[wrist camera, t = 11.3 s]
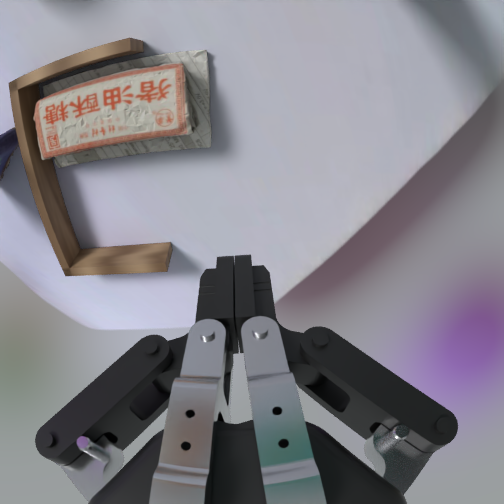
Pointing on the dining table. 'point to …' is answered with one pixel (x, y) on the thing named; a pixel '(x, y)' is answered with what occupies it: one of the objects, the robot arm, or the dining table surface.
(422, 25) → the dining table surface
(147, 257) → the frame
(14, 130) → the flask
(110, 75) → the packaged product
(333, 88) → the dining table surface
